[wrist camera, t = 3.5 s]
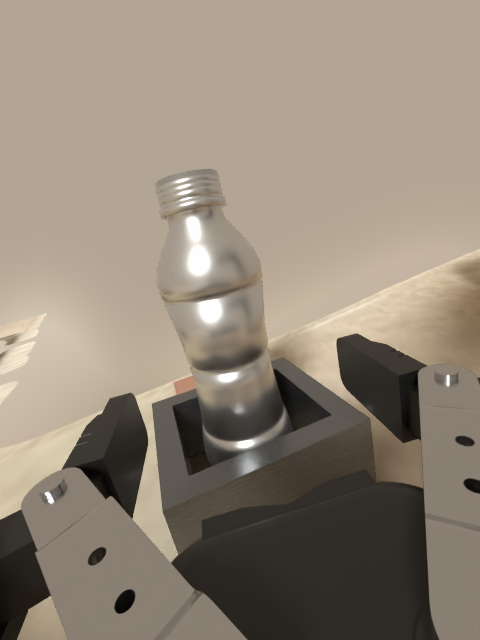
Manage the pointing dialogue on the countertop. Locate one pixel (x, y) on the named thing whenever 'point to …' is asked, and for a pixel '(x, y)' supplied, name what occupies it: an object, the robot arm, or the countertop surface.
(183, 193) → the plastic bottle
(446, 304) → the countertop surface
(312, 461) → the square holder
